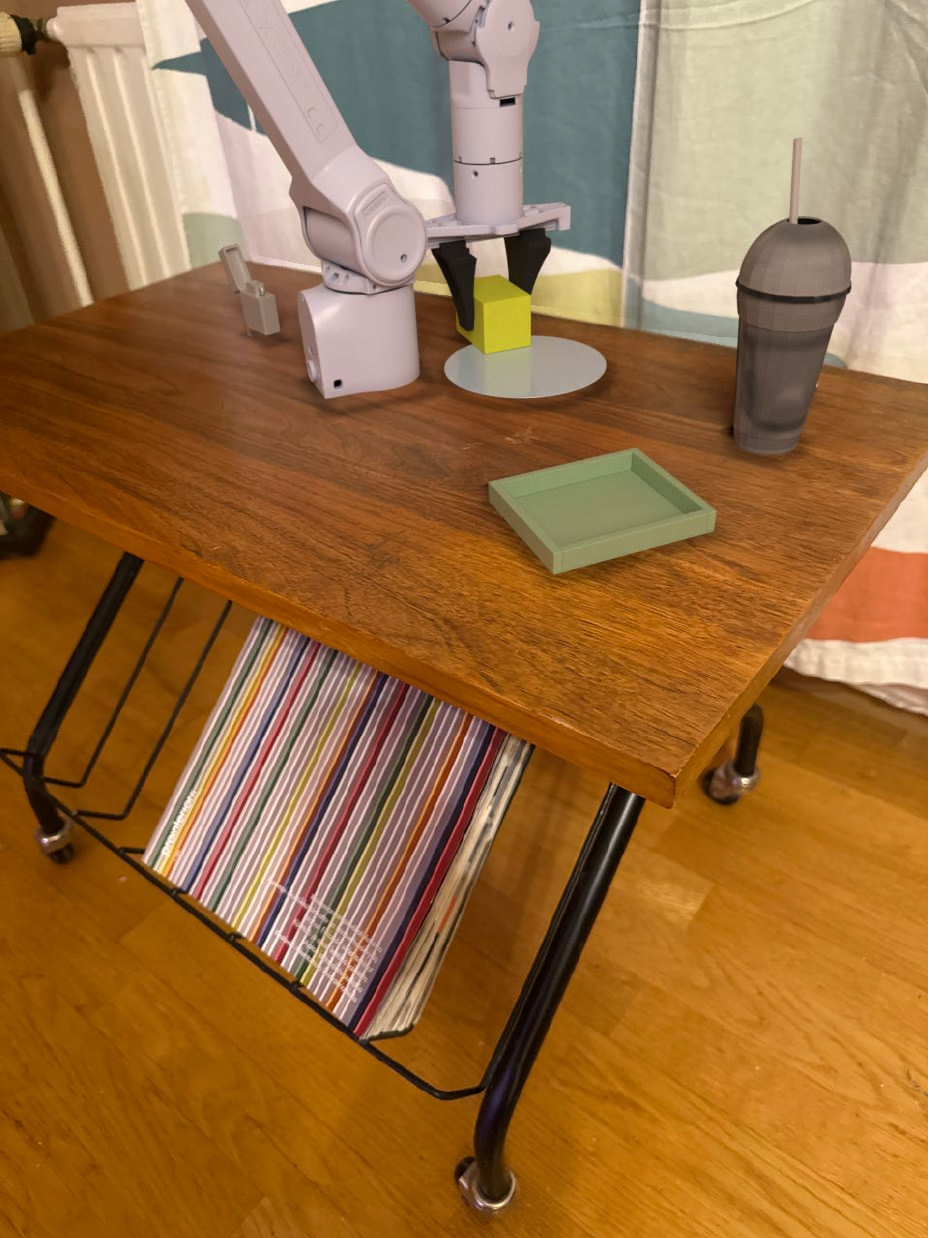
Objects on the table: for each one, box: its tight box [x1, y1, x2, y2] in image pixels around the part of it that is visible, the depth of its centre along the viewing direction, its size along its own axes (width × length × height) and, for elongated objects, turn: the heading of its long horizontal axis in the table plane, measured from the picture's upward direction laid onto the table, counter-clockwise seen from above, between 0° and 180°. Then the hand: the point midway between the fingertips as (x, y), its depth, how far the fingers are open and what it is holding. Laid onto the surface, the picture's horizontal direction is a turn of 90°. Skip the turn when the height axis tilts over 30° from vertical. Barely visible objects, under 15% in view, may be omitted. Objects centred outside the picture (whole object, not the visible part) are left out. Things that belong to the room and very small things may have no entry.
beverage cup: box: [732, 137, 853, 455], centre depth 60 cm, size 7×7×20 cm
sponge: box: [455, 274, 532, 354], centre depth 81 cm, size 4×7×4 cm, turn 22°
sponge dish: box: [488, 446, 718, 575], centre depth 58 cm, size 11×10×2 cm
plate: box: [443, 335, 608, 399], centre depth 78 cm, size 14×14×1 cm
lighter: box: [217, 243, 282, 338], centre depth 87 cm, size 7×2×8 cm, turn 40°
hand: (491, 322), depth 82 cm, fingers closed on sponge, 4 cm apart
